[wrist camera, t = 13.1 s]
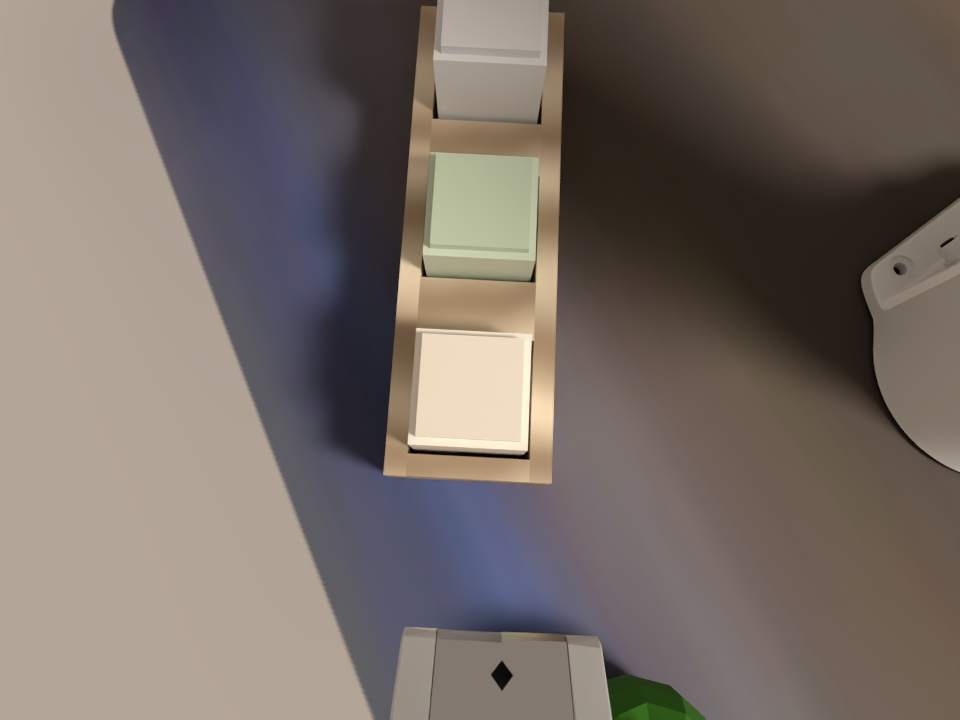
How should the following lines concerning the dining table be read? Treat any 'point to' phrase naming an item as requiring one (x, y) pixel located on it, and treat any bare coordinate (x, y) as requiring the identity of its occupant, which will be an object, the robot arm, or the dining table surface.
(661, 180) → the dining table surface
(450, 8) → the grey key
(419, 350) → the cream key
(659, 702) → the bell pepper
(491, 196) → the sage key
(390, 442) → the keypad housing
